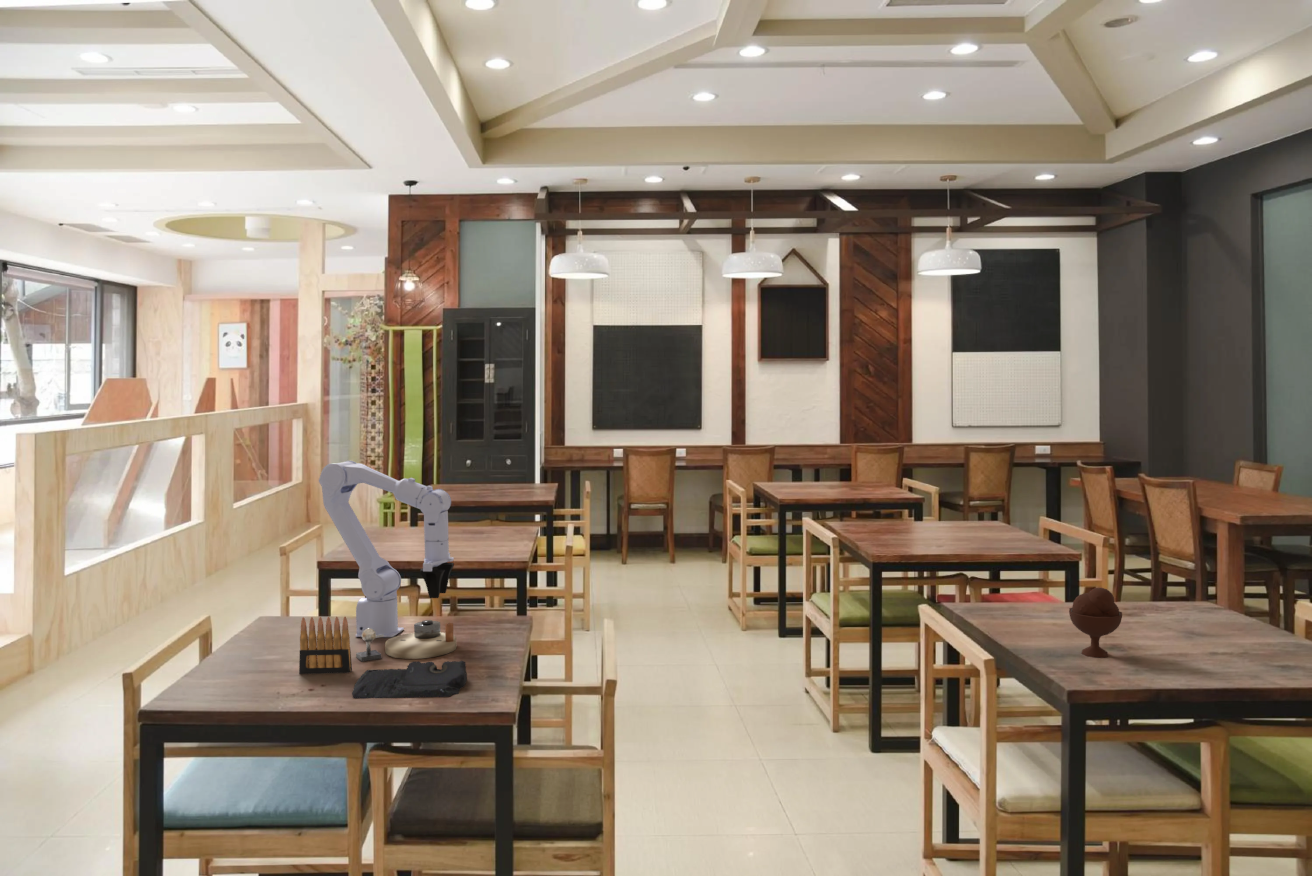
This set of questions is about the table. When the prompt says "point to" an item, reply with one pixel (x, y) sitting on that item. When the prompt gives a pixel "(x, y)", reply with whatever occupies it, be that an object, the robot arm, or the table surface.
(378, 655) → the grey and clear piece
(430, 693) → the black folded garment
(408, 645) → the turntable
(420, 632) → the iron cover
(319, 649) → the ammunition clip
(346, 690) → the table surface
